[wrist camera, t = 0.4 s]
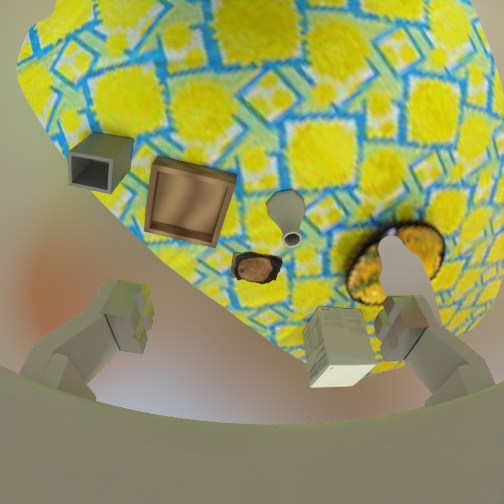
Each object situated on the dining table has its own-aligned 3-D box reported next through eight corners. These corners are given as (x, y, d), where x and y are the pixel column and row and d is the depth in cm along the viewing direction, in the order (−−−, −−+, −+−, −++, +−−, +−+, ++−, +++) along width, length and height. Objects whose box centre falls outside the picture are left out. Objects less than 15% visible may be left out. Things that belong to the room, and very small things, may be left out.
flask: (258, 201, 51) (260, 234, 44) (293, 182, 49) (302, 213, 41) (278, 228, 55) (283, 263, 48) (311, 211, 53) (322, 245, 45)
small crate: (92, 162, 44) (68, 185, 38) (94, 132, 41) (68, 151, 34) (130, 169, 46) (110, 194, 39) (134, 138, 42) (112, 159, 36)
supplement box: (301, 333, 79) (308, 388, 66) (318, 305, 71) (329, 365, 58) (341, 335, 81) (352, 386, 68) (361, 308, 73) (377, 364, 60)
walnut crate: (148, 220, 54) (143, 231, 51) (157, 156, 45) (152, 164, 42) (217, 236, 56) (215, 248, 54) (236, 174, 48) (235, 184, 45)
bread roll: (229, 276, 65) (228, 288, 62) (233, 247, 59) (232, 259, 56) (275, 280, 66) (276, 293, 63) (284, 253, 60) (285, 265, 57)
